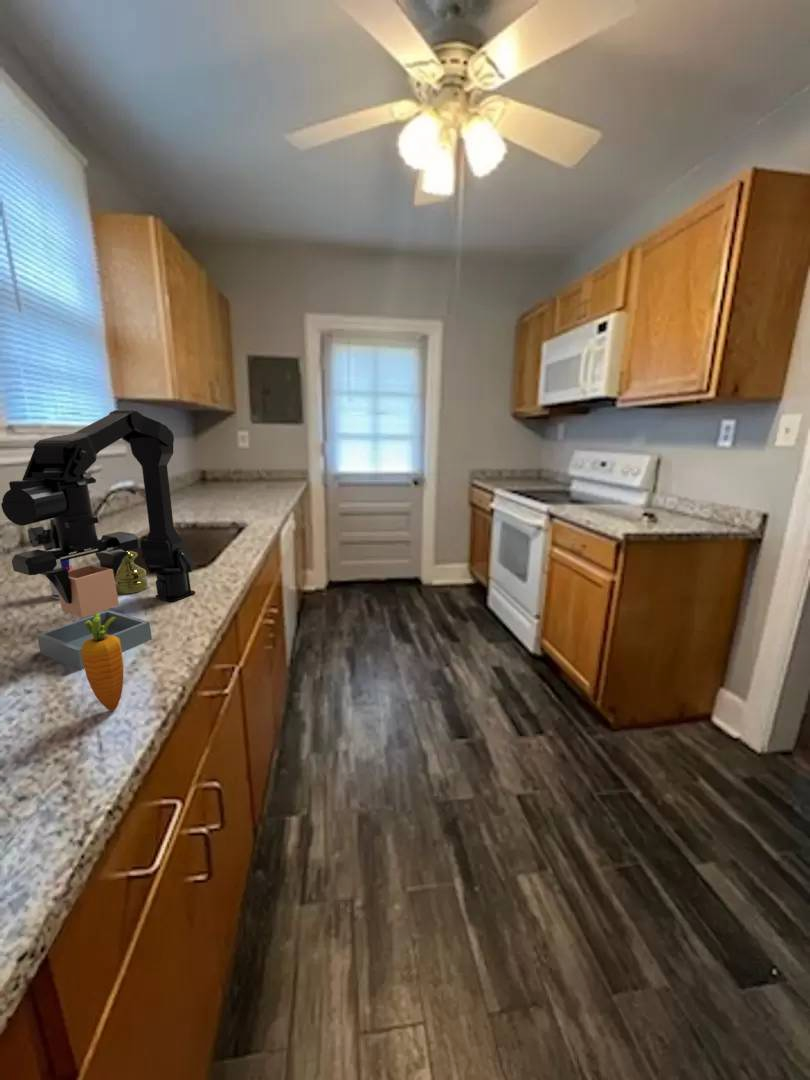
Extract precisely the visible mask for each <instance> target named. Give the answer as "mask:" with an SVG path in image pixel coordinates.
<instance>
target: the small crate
mask: <svg viewBox="0 0 810 1080" xmlns="http://www.w3.org/2000/svg"><path fill="white" fill-rule="evenodd" d="M68 575H69V581H70V588H71V594H72V603H70V604H68V603H66V602H65V600H64V599H63V597H62V596H61V595H60V593H59V592H58V593H59V598H60V600H59V602H60V608H61V612H63V613H66V614H70V615H73V616H76V617H79V618H82V619H84V618H87V617H90V616H93V615H94V614H96V613H101V612H104V611H107V610H110V609H112V608H115V607H118V606H119V605H120V602H119V596H118V593H117V590H116V585H115V579H114V573H113V569H110V568H105V567H101V565H97V564H96V565H95V564H89V565H85V566H81V567H77V568H75V569H73V570H69V571H68Z"/></svg>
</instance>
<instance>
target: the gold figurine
mask: <svg viewBox="0 0 810 1080" xmlns="http://www.w3.org/2000/svg"><path fill="white" fill-rule="evenodd" d="M123 552H128V555H127V556H125V557H124V558H123V560H122V562H121V564H120V566H119V568H118V571H117V573H116V576H115V585H116V590H117V595H118V594H119V595H130V594H129V593H131V594H135V593H134V592H136V593H140V592H143V591H144V589H145V590H146V589H148V588H149V585H148V584H149V583H148V578H147V577H146V575H147V571H146V569H145V568H142V567H141V566H139V565H137V564H136V563H135V562H134V561H135V559H136V558H137V557H138V552H136V551H133V550H130V551H123ZM139 591H140V592H139Z"/></svg>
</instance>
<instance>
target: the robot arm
mask: <svg viewBox="0 0 810 1080" xmlns="http://www.w3.org/2000/svg"><path fill="white" fill-rule="evenodd" d="M120 439H121V440H123V442H126V443H127V444H129V445H130V450H131V454H132V455H133V457H134V458H135V459H136V461H137V462H138V463H139V464H140V466H141V471H142V478H143V485H144V495H145V503H146V512H147V521H148V528H149V532H148V534H147V535H146V537H145V539H142V540H141V542H140V541H139V540H140V539H139V537H138V536H137V535H136V534H135V533H133V532H132V533H130V532H125V531H116V532H112V533H107V534H102V536H101V538H98V535H97V530H96V524H98V523H99V518H98V516H94V514H93V513H94V512H93V507H92V503H91V497H90V492H89V491H90V490H89V485H90V484H96V482H97V480H96V478H95V477H93V476H91V474H89V473H87V471H88V470H89V469H90V467H92V466H93V465H94V464H95V463H96V461H97V457H98V456H97V455H98V454H99V453H100V452H101V451H102V450H105V449H106V448H108V447H109V446H111V445H113V444H114V443H116V442H118V441H119V440H120ZM174 442H175V437H174V433H173V431H172V430H171V429H170V428H169V427H168V426H166V425H165V424H163V423H162V422H160V421H158V420H154V419H152V418H150V417H148V416H144V415H143V414H142V413H141V412H139V411H137V410H134V409H115V410H113V411H110V412H109V414H107V415H106V416H104V417H102V418H100V419H98V420H96V421H94V422H93V423H91V424H89V425H87V426H85V427H83V428H81V429H79V430H78V431H75V432H74V433H73V432H72V433H70V434H62V435H56V436H52V437H47V438H43V439H40V440H38V441H36V443H34V445H33V449H34V450H33V452H32V455H31V457H30V459H29V462H28V465H27V466H26V470H25V471H24V474H23V476H22V480H10V481H9V482H8V484H9V490H7V491H6V492H5V494H3V497H2V501H1V504H0V505H1V509H2V512H3V514H4V515H5V517H6V518H7V519H8V520H9V521H10V522H11V523H13V524H14V525H17V526H20V527H21V526H29V525H32V524H36V523H40V522H43V521H47V520H49V521H50V522H49V524H50V528H48V529H45V528H44V526H41V525H40V526H36V527H30V528H29V529H27V535H28V540H29V542H30V546H32V547H33V548H36V547H40V546H43V548H44V549H45V550H46V551H44V549H43V550H41V549H34V550H30V551H25V552H20V553H16V554H14V556H13V557H12V560H11V564H12V568H13V571H14V572H16V573H19V574H23V575H26V576H37V575H42V576H44V577H46V578H47V579H48V580H50V581H51V582H52V583H53V585H54V586H55V588H56V589H57V590H58V592H59V593H60V595H61V596H62V597H63V599H64V600H65V602H66V603H68V604H70V603H72V594H71V588H70V581H69V575H68V569H66V568H62V567H61V562H60V561H65V560H69V559H73V560H74V559H76V558H81V557H84V556H87V555H88V556H89V555H93V554H95V556H96V557H97V559H98V561H99V564H100V565H99V566H101V567H105V568H110V569H113V573H114V579H115V576H116V573H117V571H118V568H119V567H120V566H121V562H122V560H123V558H124V557H125V556H127V555H128V552H123V551H133V550H137V549H138V550H139V548H140V547H141V559H143V561H144V564H145V565H146V568H147V570H148V573H149V574H151V575H152V574H156V580H155V586H156V592H157V594H155V595H154V596H155V598H156V599H160V600H164V601H167V602H172V603H173V602H176V601H178V600H181V599H183V598H187V597H189V596H191V595H194V594H196V590H192V588H191V582H190V573H191V572H193V570H194V569H195V561H196V560H195V559H194V557H192V556H191V554H189V553H188V552H187V551H186V549H185V545H184V540H183V538H182V537H181V535H180V534H179V533H178V532H177V531H176V530H175V527H174V518H173V508H172V500H171V490H170V482H169V480H170V479H169V472H168V464H169V462H170V460H171V459H172V456H173V455H174ZM58 548H59V549H60V550H59V551H55V552H47V550H52V549H58ZM69 553H71V554H69Z"/></svg>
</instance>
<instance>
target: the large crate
mask: <svg viewBox="0 0 810 1080" xmlns="http://www.w3.org/2000/svg"><path fill="white" fill-rule="evenodd" d="M98 613H99V614H100V623H101V626H102V625H105V623H106V622H107V620H109V619H110V618H111V617H116V620H114V621H113V622H112V623H111V624H110V625H109V627H108V629H107V631H106V635H112V636H116V637H118V638H119V639H120V642H121V649H122V653H124V652H127V651H128V650H131V649H134V648H136V647H138V646H140V645H142V644H145V643H147V642H150V641H152V640H153V637H152V631H151V624H150V621H148V620H146V619H145V620H144V619H141V618H137V617H134V616H131V615H128V614H124V613H121V612H118V611H114V610H110V609H106V610H104V611H101V612H98ZM93 619H94V618H93V615H89V616H86V617H84V618H82V619H79V620H76V621H73V622H71V623H68V624H65V625H62V626H59V627H55V628H54V629H53V628H52V629H50V630H48V631H45V632H42V633H38V634H36V637H37V638H36V639H37V642H38V647H39V651H40V652H39V653H40V654H41V655H44V656H46V657H48V658H51V659H53V660H56V661H58V662H60V663H64V664H65V665H68V666H69V667H73V668H75V667H76V668H75V669H77V668H78V670H80V671H83V670H85V669H84V664H83V660H82V656H81V650H82V646H83V644H84V643H85V642H86V641H87V640H89V639H91V638H94V637H93V634H92V633H91V632H90V631H89V630H88V628H87V627H86V626H85V622H86V621H87V620H90V621H91V623H92V622H93ZM149 640H150V641H149ZM126 650H127V651H126ZM82 669H83V670H82Z"/></svg>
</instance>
